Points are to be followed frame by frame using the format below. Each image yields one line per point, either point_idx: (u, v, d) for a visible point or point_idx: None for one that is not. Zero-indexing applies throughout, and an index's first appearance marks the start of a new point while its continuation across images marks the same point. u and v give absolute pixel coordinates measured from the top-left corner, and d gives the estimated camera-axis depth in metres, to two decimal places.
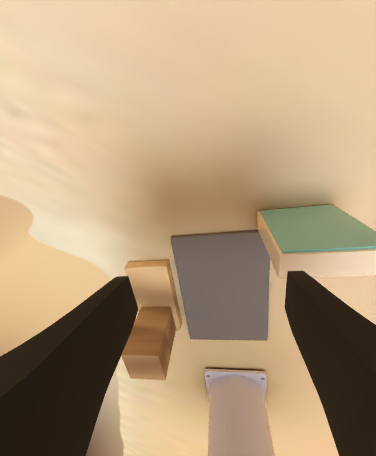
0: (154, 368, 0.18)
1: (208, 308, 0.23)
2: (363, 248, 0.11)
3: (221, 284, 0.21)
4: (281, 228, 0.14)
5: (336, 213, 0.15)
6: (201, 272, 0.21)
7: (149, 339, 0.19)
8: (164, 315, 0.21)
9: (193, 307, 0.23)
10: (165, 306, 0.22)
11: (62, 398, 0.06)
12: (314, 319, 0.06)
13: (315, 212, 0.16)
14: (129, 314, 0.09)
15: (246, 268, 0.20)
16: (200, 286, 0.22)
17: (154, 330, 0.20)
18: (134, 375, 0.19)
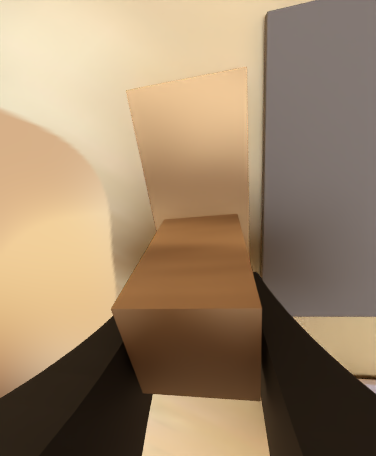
0: (231, 359, 0.05)
1: (321, 241, 0.10)
2: None
3: None
4: None
5: None
6: (331, 133, 0.08)
7: (205, 267, 0.06)
8: (229, 225, 0.08)
9: (284, 240, 0.10)
10: (224, 214, 0.09)
11: (123, 403, 0.05)
12: None
13: None
14: None
15: None
16: (317, 179, 0.09)
17: (213, 249, 0.07)
18: (155, 384, 0.06)
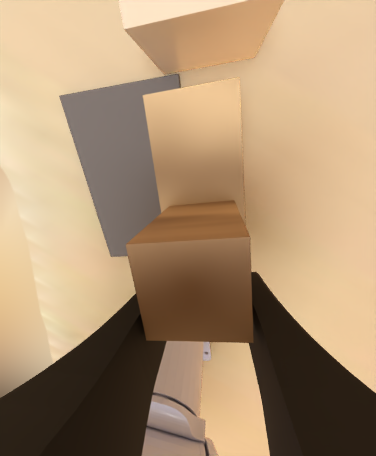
0: (226, 294, 0.06)
1: (123, 207, 0.18)
2: None
3: (132, 168, 0.17)
4: None
5: None
6: (105, 150, 0.16)
7: (204, 223, 0.07)
8: (226, 205, 0.09)
9: (105, 207, 0.19)
10: (222, 200, 0.10)
11: (123, 403, 0.05)
12: (253, 319, 0.07)
13: None
14: None
15: None
16: (108, 173, 0.17)
17: (212, 216, 0.08)
18: (158, 328, 0.07)
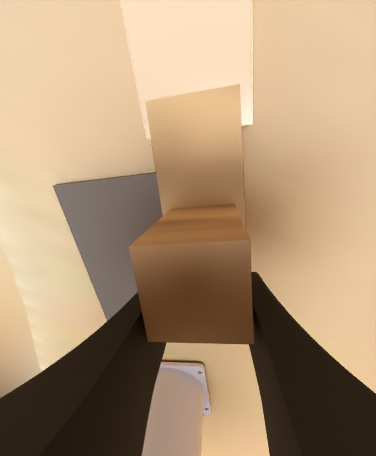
0: (226, 296, 0.06)
1: (119, 282, 0.18)
2: None
3: (128, 250, 0.17)
4: None
5: None
6: (100, 233, 0.16)
7: (206, 226, 0.07)
8: (227, 209, 0.10)
9: (101, 281, 0.18)
10: (223, 203, 0.11)
11: (123, 403, 0.05)
12: (253, 319, 0.07)
13: None
14: None
15: None
16: (104, 253, 0.17)
17: (212, 219, 0.08)
18: (159, 330, 0.07)
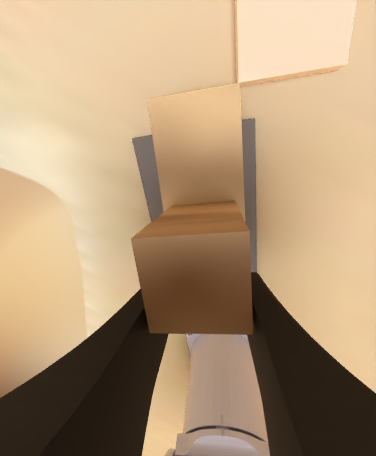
0: (226, 287, 0.06)
1: None
2: None
3: None
4: None
5: None
6: None
7: (206, 220, 0.07)
8: (227, 205, 0.10)
9: None
10: (223, 200, 0.11)
11: (123, 403, 0.05)
12: (253, 319, 0.07)
13: None
14: None
15: None
16: None
17: (213, 214, 0.08)
18: (161, 320, 0.07)
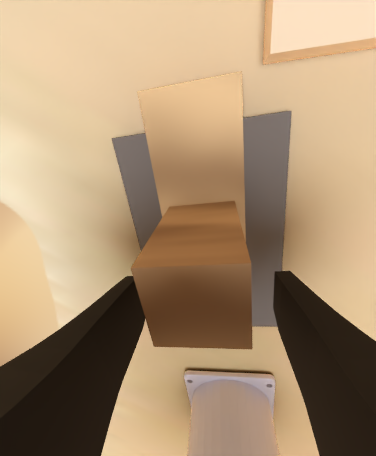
0: (227, 310, 0.06)
1: None
2: None
3: None
4: None
5: None
6: None
7: (206, 239, 0.07)
8: (227, 209, 0.09)
9: None
10: (222, 201, 0.10)
11: (78, 399, 0.06)
12: (297, 319, 0.07)
13: None
14: (139, 314, 0.09)
15: (246, 195, 0.11)
16: None
17: (213, 226, 0.08)
18: (164, 337, 0.07)
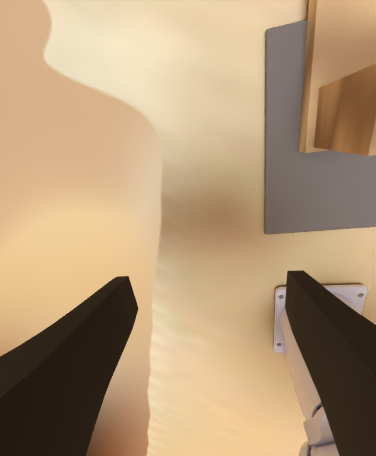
0: None
1: (303, 172, 0.16)
2: None
3: None
4: None
5: None
6: None
7: None
8: None
9: (279, 173, 0.16)
10: None
11: (62, 398, 0.06)
12: (314, 319, 0.06)
13: None
14: (129, 314, 0.09)
15: None
16: (298, 129, 0.14)
17: None
18: None
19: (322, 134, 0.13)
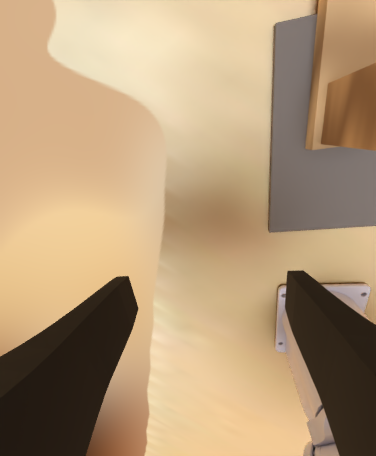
0: None
1: (309, 170, 0.16)
2: None
3: None
4: None
5: None
6: None
7: None
8: None
9: (285, 170, 0.16)
10: None
11: (62, 398, 0.06)
12: (314, 319, 0.06)
13: None
14: (129, 314, 0.09)
15: None
16: (305, 125, 0.14)
17: None
18: None
19: (330, 130, 0.12)
